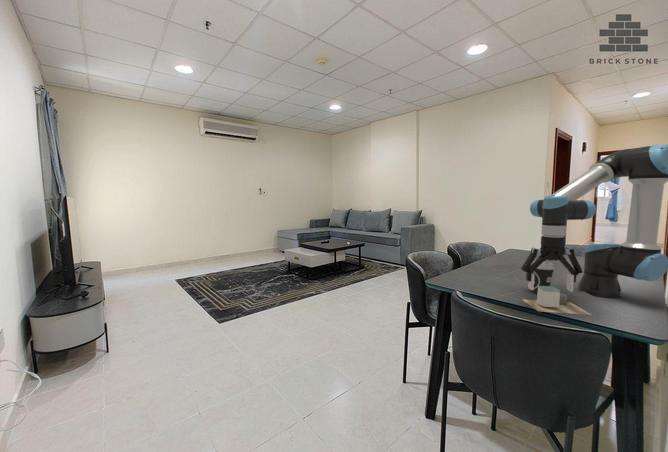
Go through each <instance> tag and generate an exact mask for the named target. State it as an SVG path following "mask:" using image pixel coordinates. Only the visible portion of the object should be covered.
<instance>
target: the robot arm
mask: <svg viewBox="0 0 668 452" xmlns="http://www.w3.org/2000/svg"><path fill="white" fill-rule="evenodd" d="M625 177H627V178H628V182H630V183H631V184H632V190H631V199H630V206H629V207H630V208H629V214H628V215H629V216H628V224H627V231H626V240H625V242H623V243H590V244H588V245H586V247H585V251H584V266H583V269H582V266H581V264H580V263H579V261H578V259H577V257H576V255H575V249H574V248H570V247H568V248H565V247H566V241H567V240H566V237H565V236H567V223H568V221H577V220H581V221H583V220H588V219H591V218H593V217H594V216H595V215H596V211H597V207H596V205H595V203H593V202H592V201H590V200H586V199H585V200H584V199H581V198H582V197H583V196H585V195H586V194H588V193H589V192H591V191H592V190H594V189H596V188H597V187H598V186H600V185H601V184H604V183H609V182H611V180H614V179H617V178H625ZM667 182H668V144H666V143H665V144H653V145H648V146H641V147H635V148H626V149H621V150H618V151H615V152H613V153H611V154H609V155H606V156H605V157H603V158H601V159H599V160H598V161H596V162H594V163H593V164H591V165H590V166H589V168H588V170H586V171H585V172H584V173H582V174H581V175H579V176H577V178H574V180H572V181H570V182H569V183H567V184H566V185H564V186H563V187H561V188H559V189H557V190H556V191H555V192H553V193H551V194H550V195H546V196H544V197H543V199H536V200H534V201H532V202H531V203H530V206H529V211H530V214H531V215H532V216H533V217H537V218H542V219H541V233H540V234H541V236H540V248H535V247H531V249H530V253H529V255H528V257H527V259H526V260H525V262H524V264H523V265H522V267H521V268H520V270H521V271H523V272H525V274H526V275H525V277H526V278H525V279H526V281H527V282H528V284H527V286H528V287H527V288H528V289H529V290H530V291H531V290H534V274H533V273H532V272H534V271H535V270H536V269H537V268H538V267H539V266H540V265H541V264H542V263H543V262H544V261H545V262H547V261H559V262H560V263H561V264H562V265H563V266H564V268H566V270H567V271H568V272H569V273H568V272H567V274H566V275H567V277H566V290H567V291H569V292H571V293H572V292H574V284H575V283H576V282H577V276H579V274H582V273H583V274H582V277H581V278H580V280H579V282H578V284H577V290H578V291H579V292H584V293H587V294H589V295H591V296H596V297H599V298H600V297H602V298H609V299H610V298H612V299H617V298H620V297H622V289H621V286H620V283H619V279H618V276H623V277H627V278H631V279H635V280H638V281H639V280H640V281H645V282H654V281H657V280H659V279H661V278H662V277H664V275H665V274H666V273H667V271H668V257H667V255H665V254H663V253H662V248H661V247H660V246H659V245H658V244H657V241H658V235H659V234H658V233H659V227H660V218H661V210H662V203H663V202H662V201H663V195H664V188H665V184H666V183H667ZM539 253H540V254H539ZM565 254H566V255H567V257H568V259H569V261H570V263H569V261H567V259H566V258H565V257H564V255H565ZM537 255H539V256H538V257H537ZM533 261H535V262H534V263H533V264H532V262H533ZM531 264H532V265H531Z"/></svg>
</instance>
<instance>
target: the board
mask: <svg viewBox="0 0 668 452" xmlns="http://www.w3.org/2000/svg"><path fill="white" fill-rule="evenodd" d="M521 300H522V301H523V302H524V303H526V304H527V305H529V306H530V307H531V308H533V310H535V311H537V312H542V313H543V312H544V313H557V314H559V313H560V314H573V315H586V316H593V314H592V313H590V312H589V311H587V310H584V309H583V308H581V307H579V306H578V305H576V304H574V303H572V302H569V301H567V305H559V307H553V308H545V307H544V306H542V305H541V304H540V303H538V302H537V299H525V298H524V299H521Z"/></svg>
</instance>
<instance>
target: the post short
mask: <svg viewBox="0 0 668 452" xmlns="http://www.w3.org/2000/svg"><path fill="white" fill-rule="evenodd" d="M567 302H568V295H567V294H565V293H562V292H560V300H559V305H567Z"/></svg>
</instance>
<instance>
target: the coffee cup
mask: <svg viewBox="0 0 668 452" xmlns="http://www.w3.org/2000/svg"><path fill="white" fill-rule="evenodd" d="M535 261H536V260H534V261H533V262H532V264H533V263H534V262H535ZM532 264H531V265H532ZM554 270H555V266H554V264H553V263H552V262H549V261H544V262H543V263H542V264H541V265H540V266H539V267H538V268H537V269H536V270H535V271H534V272H532V273H533V274H534V290H530V292H531V293H532V294H536V295H537V294H538V286H551V285H552V279H553V274H554Z"/></svg>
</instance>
